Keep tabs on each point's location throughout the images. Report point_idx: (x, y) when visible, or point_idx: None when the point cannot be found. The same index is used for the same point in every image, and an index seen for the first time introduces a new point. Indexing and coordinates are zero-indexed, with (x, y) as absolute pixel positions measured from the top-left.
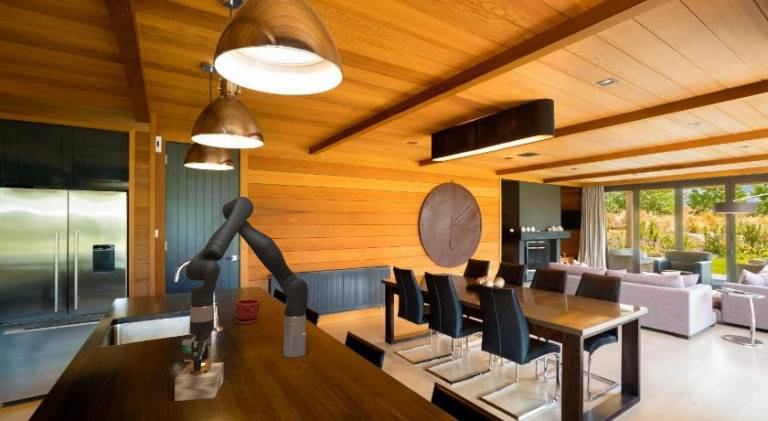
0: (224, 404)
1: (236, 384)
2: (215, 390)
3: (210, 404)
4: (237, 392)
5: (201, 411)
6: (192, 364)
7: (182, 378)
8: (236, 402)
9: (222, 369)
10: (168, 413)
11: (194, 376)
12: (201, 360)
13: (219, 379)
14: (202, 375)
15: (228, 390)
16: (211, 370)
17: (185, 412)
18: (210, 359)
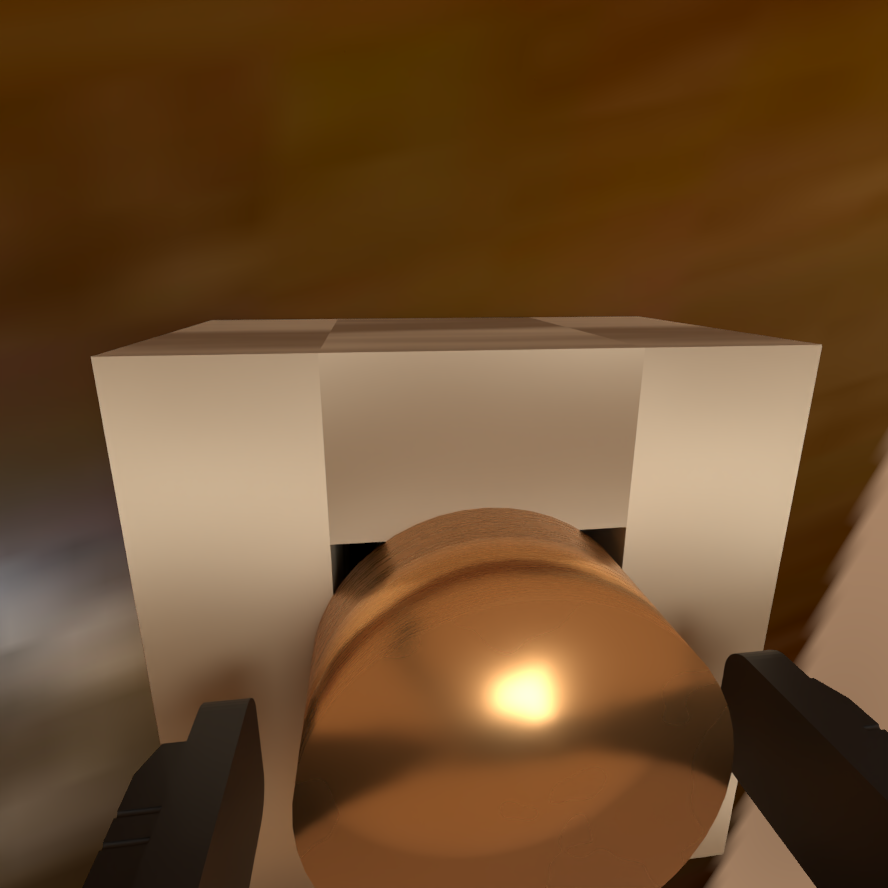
0: (821, 160)
1: (308, 107)
2: (621, 321)
3: (770, 317)
4: (563, 47)
5: (877, 364)
6: (668, 878)
7: (735, 781)
8: (824, 15)
9: (221, 340)
10: (807, 618)
11: (716, 661)
12: (463, 811)
13: (431, 328)
14: (717, 561)
15: (480, 188)
16: (529, 483)
17: (841, 496)
18: (428, 645)
